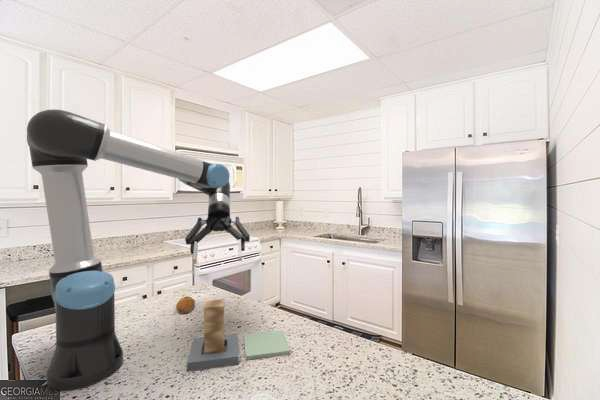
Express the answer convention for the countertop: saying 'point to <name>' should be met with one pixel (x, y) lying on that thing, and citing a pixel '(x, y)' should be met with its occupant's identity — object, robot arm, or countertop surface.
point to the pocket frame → (213, 354)
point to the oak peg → (214, 326)
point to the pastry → (185, 305)
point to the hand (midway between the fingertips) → (217, 260)
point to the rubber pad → (265, 345)
